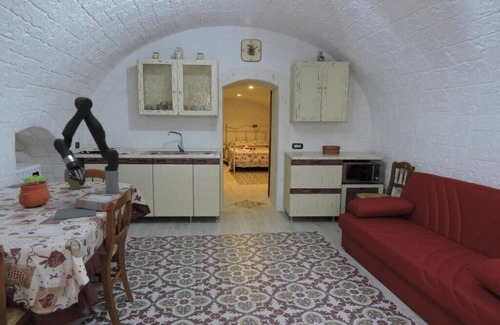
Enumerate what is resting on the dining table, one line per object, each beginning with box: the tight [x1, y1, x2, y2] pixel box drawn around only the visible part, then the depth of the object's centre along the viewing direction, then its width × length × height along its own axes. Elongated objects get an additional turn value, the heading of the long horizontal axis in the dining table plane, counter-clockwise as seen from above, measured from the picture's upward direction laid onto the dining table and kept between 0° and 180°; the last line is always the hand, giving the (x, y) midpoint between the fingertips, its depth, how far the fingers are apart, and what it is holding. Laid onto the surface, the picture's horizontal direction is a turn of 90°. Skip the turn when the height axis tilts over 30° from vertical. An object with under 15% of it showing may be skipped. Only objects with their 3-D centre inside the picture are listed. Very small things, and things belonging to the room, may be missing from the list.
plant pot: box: [63, 167, 86, 190], centre depth 260 cm, size 15×15×16 cm
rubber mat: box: [52, 206, 97, 221], centre depth 197 cm, size 22×22×1 cm
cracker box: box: [75, 193, 119, 212], centre depth 209 cm, size 14×6×21 cm
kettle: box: [21, 174, 50, 184], centre depth 258 cm, size 15×14×11 cm
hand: (82, 184), depth 207 cm, fingers closed
